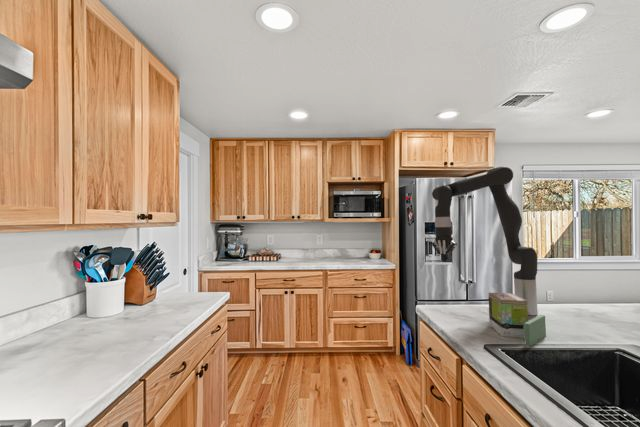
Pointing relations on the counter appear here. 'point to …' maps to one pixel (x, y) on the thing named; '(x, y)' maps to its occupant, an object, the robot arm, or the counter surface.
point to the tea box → (508, 314)
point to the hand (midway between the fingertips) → (444, 261)
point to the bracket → (534, 330)
